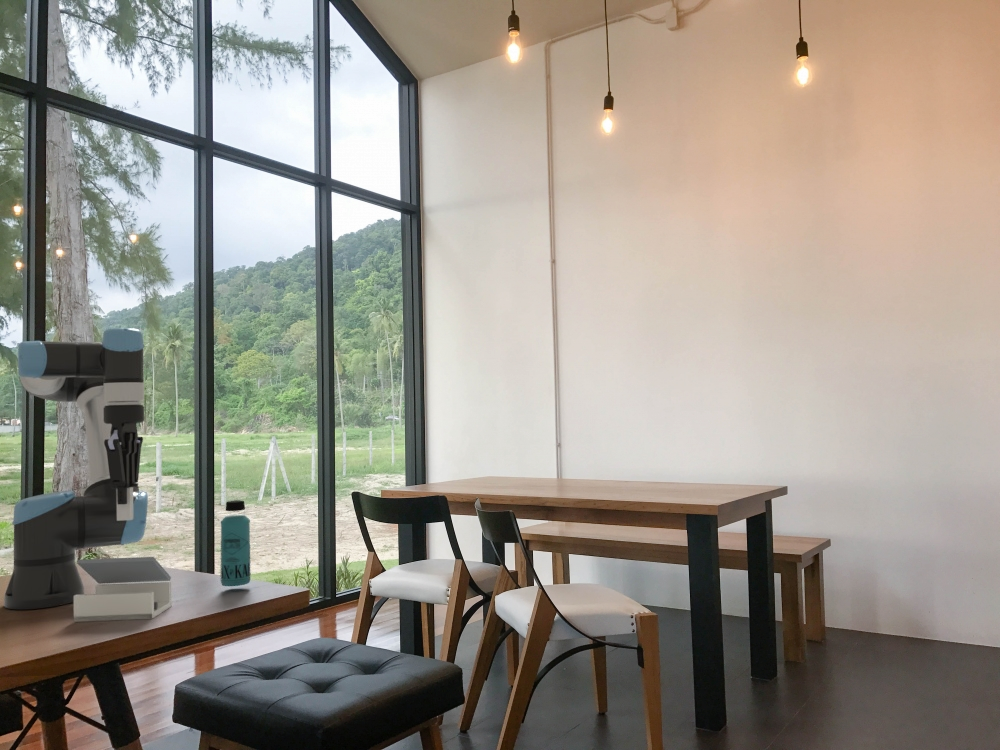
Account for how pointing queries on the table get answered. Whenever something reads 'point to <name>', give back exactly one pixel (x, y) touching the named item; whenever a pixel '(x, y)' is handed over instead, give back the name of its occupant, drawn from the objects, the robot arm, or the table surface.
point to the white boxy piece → (123, 602)
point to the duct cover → (124, 570)
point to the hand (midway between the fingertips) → (125, 519)
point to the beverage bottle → (235, 547)
